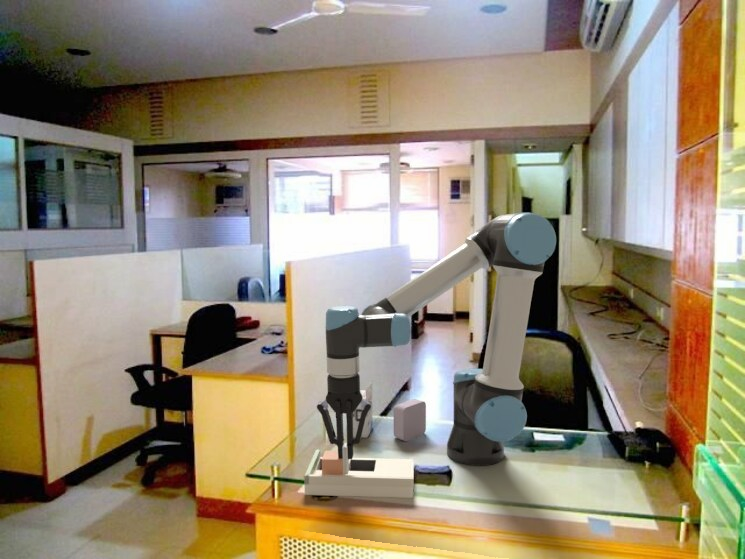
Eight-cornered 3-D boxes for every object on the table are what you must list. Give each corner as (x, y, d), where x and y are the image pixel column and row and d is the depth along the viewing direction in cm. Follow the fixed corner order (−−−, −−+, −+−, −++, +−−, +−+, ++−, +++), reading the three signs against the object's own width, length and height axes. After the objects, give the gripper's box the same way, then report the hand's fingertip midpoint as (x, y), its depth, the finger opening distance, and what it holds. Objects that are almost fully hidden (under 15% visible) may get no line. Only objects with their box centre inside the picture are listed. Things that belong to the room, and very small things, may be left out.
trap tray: (413, 468, 138) (413, 451, 138) (413, 497, 123) (413, 478, 123) (316, 466, 140) (316, 449, 140) (304, 494, 125) (304, 476, 125)
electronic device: (413, 429, 165) (413, 397, 164) (425, 433, 162) (425, 400, 161) (391, 438, 158) (391, 404, 157) (403, 442, 155) (403, 408, 154)
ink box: (357, 426, 168) (356, 379, 166) (373, 427, 167) (372, 380, 165) (350, 437, 159) (350, 388, 158) (367, 438, 158) (366, 388, 157)
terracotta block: (346, 470, 132) (345, 450, 131) (343, 480, 127) (342, 459, 126) (325, 470, 132) (325, 450, 132) (322, 479, 127) (321, 459, 127)
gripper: (371, 369, 129) (374, 465, 131) (319, 369, 130) (322, 464, 132) (369, 378, 121) (371, 479, 124) (313, 378, 122) (316, 478, 125)
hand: (346, 471), depth 128 cm, fingers closed
